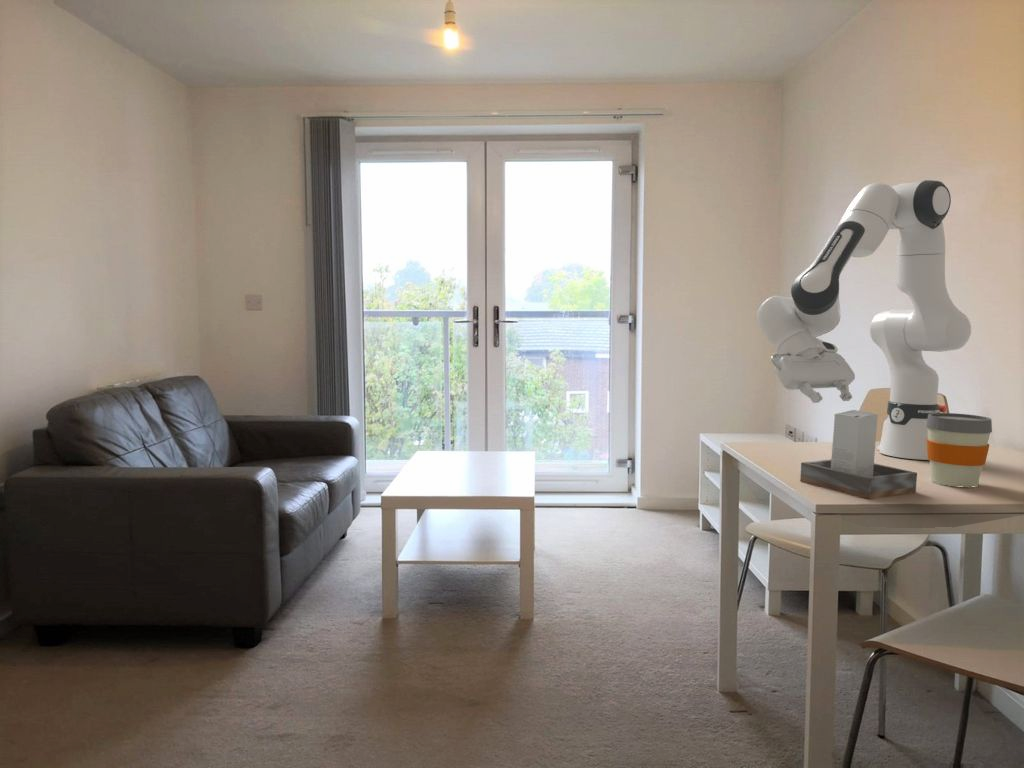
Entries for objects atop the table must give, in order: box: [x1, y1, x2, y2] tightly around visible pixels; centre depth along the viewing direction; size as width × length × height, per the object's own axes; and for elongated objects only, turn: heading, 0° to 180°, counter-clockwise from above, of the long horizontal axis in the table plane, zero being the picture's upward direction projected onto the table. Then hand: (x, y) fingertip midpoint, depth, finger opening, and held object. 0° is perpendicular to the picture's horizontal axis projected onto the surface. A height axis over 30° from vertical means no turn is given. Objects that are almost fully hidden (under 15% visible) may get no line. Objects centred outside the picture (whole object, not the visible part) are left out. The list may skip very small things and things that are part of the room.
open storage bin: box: [800, 459, 918, 500], centre depth 158 cm, size 15×17×4 cm
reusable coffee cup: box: [926, 412, 993, 487], centre depth 163 cm, size 13×13×15 cm
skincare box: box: [830, 409, 879, 477], centre depth 158 cm, size 8×6×15 cm
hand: (833, 400), depth 163 cm, fingers open, 8 cm apart
